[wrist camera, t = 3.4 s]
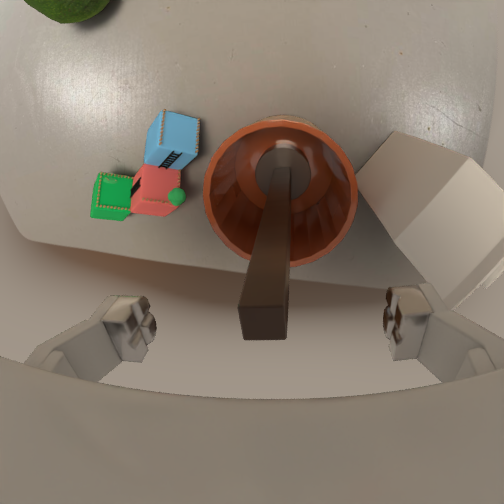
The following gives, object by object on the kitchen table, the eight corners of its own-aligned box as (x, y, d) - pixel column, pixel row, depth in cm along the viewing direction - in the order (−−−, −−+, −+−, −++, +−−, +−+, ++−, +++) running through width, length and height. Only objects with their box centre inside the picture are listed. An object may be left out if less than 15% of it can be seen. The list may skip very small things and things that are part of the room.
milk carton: (350, 179, 30) (415, 277, 13) (394, 129, 27) (508, 174, 10) (395, 221, 31) (473, 339, 15) (437, 176, 28) (550, 259, 12)
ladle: (307, 141, 28) (347, 246, 8) (311, 190, 30) (339, 374, 10) (255, 145, 29) (166, 255, 9) (261, 194, 31) (202, 374, 11)
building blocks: (158, 164, 36) (202, 117, 27) (154, 227, 35) (198, 198, 26) (98, 154, 32) (122, 97, 22) (89, 220, 31) (106, 184, 21)
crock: (332, 112, 27) (354, 116, 18) (338, 213, 32) (356, 263, 22) (225, 120, 29) (191, 130, 19) (239, 219, 34) (216, 270, 24)
